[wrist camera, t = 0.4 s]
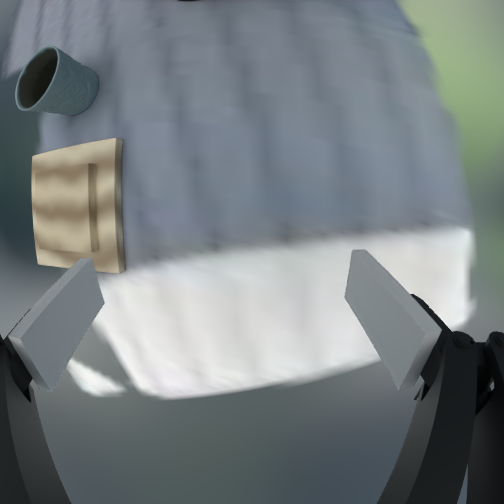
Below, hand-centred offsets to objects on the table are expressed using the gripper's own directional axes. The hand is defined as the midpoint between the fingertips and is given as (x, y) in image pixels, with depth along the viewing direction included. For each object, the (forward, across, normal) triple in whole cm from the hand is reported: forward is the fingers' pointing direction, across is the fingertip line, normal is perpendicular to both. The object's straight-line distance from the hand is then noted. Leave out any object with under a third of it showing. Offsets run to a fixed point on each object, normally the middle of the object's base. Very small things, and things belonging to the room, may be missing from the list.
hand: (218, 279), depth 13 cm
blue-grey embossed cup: (+32, -25, +18) cm, 44 cm away
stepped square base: (+28, -26, -2) cm, 38 cm away
